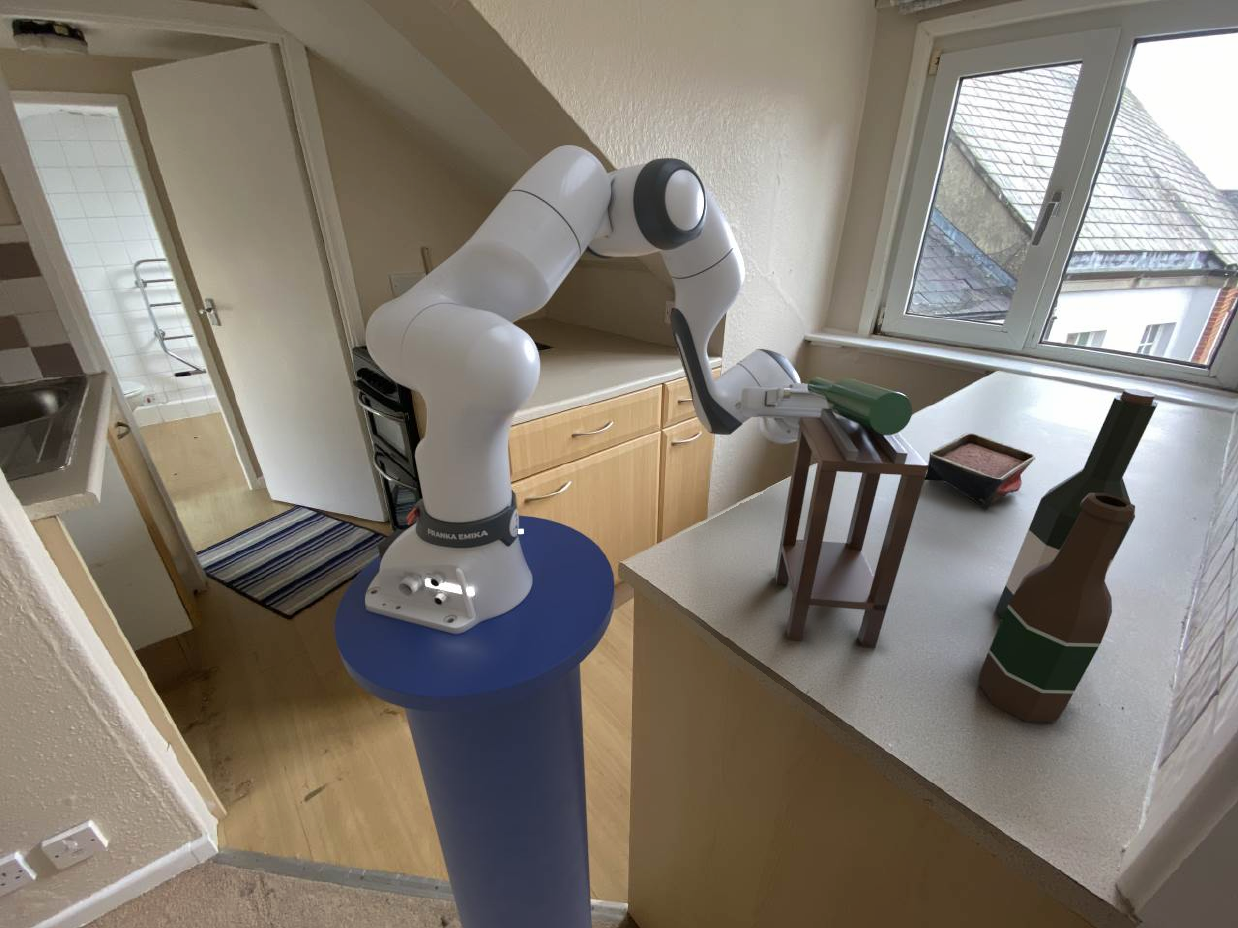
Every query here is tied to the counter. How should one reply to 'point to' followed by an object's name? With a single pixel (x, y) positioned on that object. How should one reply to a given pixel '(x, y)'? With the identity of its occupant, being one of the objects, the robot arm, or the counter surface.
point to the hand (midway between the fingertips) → (819, 394)
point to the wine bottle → (1084, 487)
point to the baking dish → (979, 467)
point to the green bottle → (864, 404)
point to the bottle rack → (842, 567)
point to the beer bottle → (1057, 618)
